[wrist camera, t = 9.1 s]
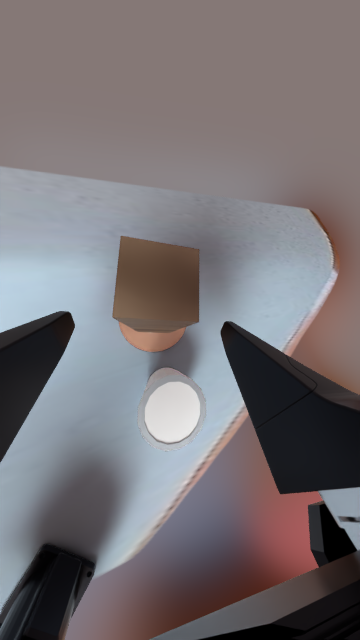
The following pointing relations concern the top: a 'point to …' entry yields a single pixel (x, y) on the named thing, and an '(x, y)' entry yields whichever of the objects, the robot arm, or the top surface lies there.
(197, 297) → the walnut block
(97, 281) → the top surface
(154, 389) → the white short cylinder
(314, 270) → the top surface
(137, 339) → the orange flat disc
